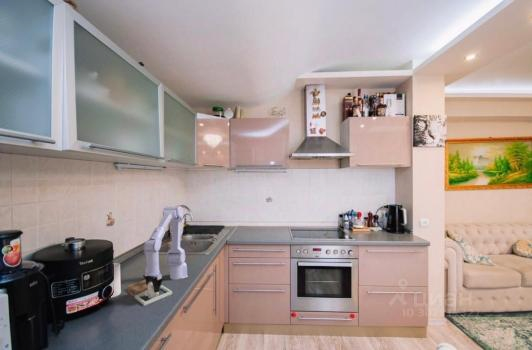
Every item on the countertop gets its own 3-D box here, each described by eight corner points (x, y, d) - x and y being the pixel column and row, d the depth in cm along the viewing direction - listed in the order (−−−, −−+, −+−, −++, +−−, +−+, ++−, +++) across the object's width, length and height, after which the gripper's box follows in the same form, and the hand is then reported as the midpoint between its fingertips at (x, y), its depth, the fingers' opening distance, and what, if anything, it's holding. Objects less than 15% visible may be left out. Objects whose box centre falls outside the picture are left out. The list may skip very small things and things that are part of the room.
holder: (150, 281, 140) (149, 277, 140) (161, 288, 131) (161, 283, 131) (124, 291, 130) (123, 286, 129) (134, 299, 120) (134, 294, 120)
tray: (162, 289, 130) (162, 285, 130) (172, 295, 123) (172, 291, 123) (135, 300, 120) (134, 295, 120) (144, 307, 113) (144, 302, 113)
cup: (124, 291, 129) (123, 262, 129) (115, 299, 121) (114, 268, 121) (108, 292, 129) (107, 263, 129) (98, 300, 120) (97, 269, 120)
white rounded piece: (156, 292, 125) (156, 279, 125) (160, 296, 122) (160, 282, 122) (143, 297, 120) (143, 284, 120) (147, 301, 117) (147, 287, 117)
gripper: (138, 262, 123) (139, 288, 123) (151, 269, 114) (152, 297, 114) (152, 258, 128) (153, 283, 129) (165, 264, 119) (166, 291, 119)
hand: (153, 289), depth 122 cm, fingers open, 7 cm apart
